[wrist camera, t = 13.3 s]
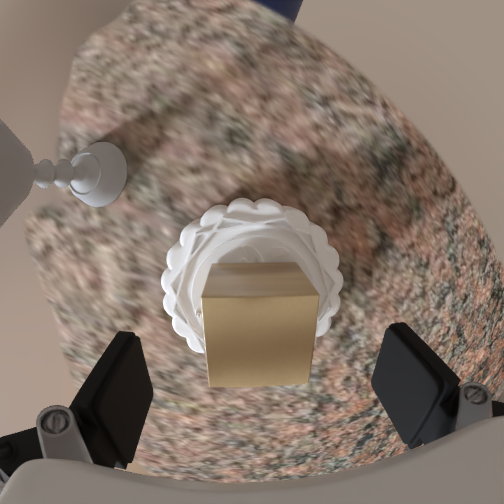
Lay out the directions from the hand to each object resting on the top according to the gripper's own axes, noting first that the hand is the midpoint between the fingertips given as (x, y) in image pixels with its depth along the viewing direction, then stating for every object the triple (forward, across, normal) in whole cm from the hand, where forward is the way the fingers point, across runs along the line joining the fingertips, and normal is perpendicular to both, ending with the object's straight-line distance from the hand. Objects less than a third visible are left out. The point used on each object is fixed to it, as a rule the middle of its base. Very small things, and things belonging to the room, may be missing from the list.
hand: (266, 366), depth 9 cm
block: (+7, 0, +1) cm, 7 cm away
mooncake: (+11, 0, +1) cm, 11 cm away
